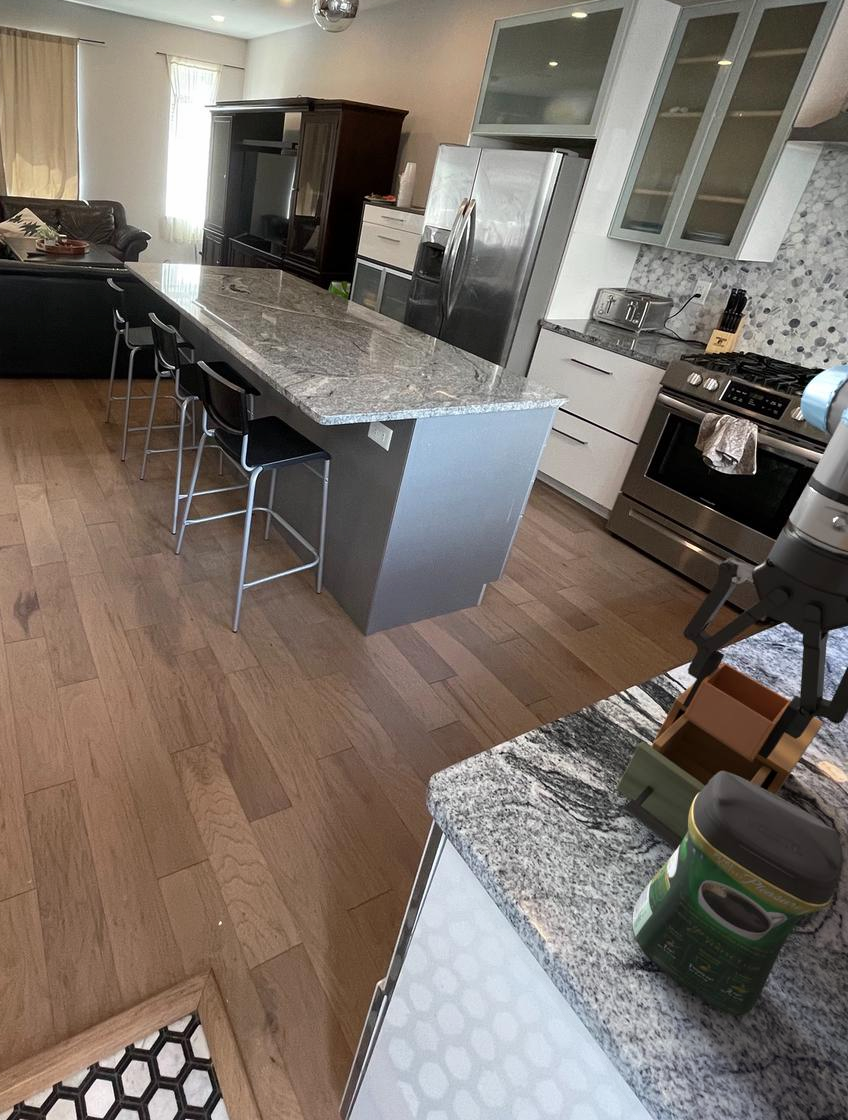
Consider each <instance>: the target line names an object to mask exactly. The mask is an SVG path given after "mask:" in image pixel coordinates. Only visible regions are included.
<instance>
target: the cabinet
mask: <svg viewBox="0 0 848 1120" xmlns="http://www.w3.org/2000/svg"><path fill="white" fill-rule="evenodd" d="M721 664H722V662H720V664H719V666H720V665H721ZM719 666H718V667H719ZM694 683H695V681H694V682H693V683H692V684H691V685H690V686H689V687H688V688H687V689H686V690H684V691H683V692H682V693H681V694H679V696H678V697H677V698H676V699H675V700H674V702H673V704H672V705H671V708H670V710H669V711H668V714H667V715H666V717H665V719H664V721H663V723H662V725H661V727H660V729H659V731H658V732H657V735H656V736H655V739H654V741H652V744H651V746H650V747H652V745H653V743H654V742H655V741H656V740H657V739H658V738H659V737H660V736H661V735H662V734H663V733H664V732H665V731H666V730H667V729H668V728H669V727H670V726H671V725H672V724H673V723H675V722H676V721H677V720H678V719H679V718H680V717H681V716H682V715H683V714H684V713H685V712H686V711H687V709H688V708H687V707H685V706H683V703H684V702H685V700H686V698H687V696H688V694H689V692H690V690H691V689H692V687H693V685H694ZM823 725H824V722H823V721H822V720H820V719H818V718H816V717H813V718H812V720H811V721H810V723H809V724H808V726H807V728H806V729H805V731H804V732H803V733H802V735H801V736H800V737H798V738H796V739H795V738H793V737H791V736H790V735H788V734H787V733H784V734H783V736H782V738H781V739H780V741H779V742H778V744H777V745H776V747H775V749H774V750H773V751H772V753H771V754H770V755H769V756H768V758H767V759H765V758H764V757H762V756H760V755H759V754H758V755H757V756H756V757H755V758H757V759H758V760H760V761H761V762H763V763H764V764H766V765H768V766H769V767H771V768H772V769H773V770H772V771H771V773H770V774H769V776H768V778H767V779H766V781H765V782H764V784H763V785H762V787H761V788H763V789H765V790H767V791H769V792H771V793H773V794H775V795H776V796H778V795H777V794H778V793H779V792H780V790H781V789H782V787H783V786H784V784H785V783H786V781H787V780H788V778H789V777H790V775H791V774H792V772H793V771H794V769H795V768H796V766H797V765H798V764H799V762H800V760H801V759H802V757H803V756H804V754H805V752H806V751H807V749H808V748H809V746H810V745H811V743H812V742H813V740H814V739H815V737H816V736H817V734H818V733H819V731H820V730H821V728H822V726H823Z"/></svg>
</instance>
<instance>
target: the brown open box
mask: <svg viewBox="0 0 848 1120" xmlns="http://www.w3.org/2000/svg"><path fill="white" fill-rule="evenodd" d="M791 701H792V700H789V699H788V698H786V697H784V696H783V695H781V694H779V693H777V692H776V691H774V690H773V689H771V688H769V687H767V686H766V685H764V684H762V683H760V682H758V681H757V680H755V679H753V678H752V677H750V676H748V675H746V674H745V673H743V672H742V671H740V670H737V669H736V668H735V667H733V666H732V665H729V664H727V663H726V662H724V661H723V662H721V665H720V666H719V667H718V668H716V669H715V670H714V671H713V672H712V673H711V674H710V675H709V676H708V677H706V678H705V679H704V680H703V681H702V683H701V685H700V687H699V688H698V690H697V692H696V694H695V696H694V698H693V700H692V701H691V703H690V705H689V707H688V709H687V711H686V712H685V714H684V716H683V717H685V718H686V719H688V720H689V721H691V722H692V723H694V724H695V725H697V726H698V727H700V728H701V729H703V730H704V731H706V732H707V733H709V734H710V735H712V736H713V737H715V738H716V739H718V740H719V741H721V742H722V743H724V744H725V745H727V746H728V747H730V748H731V749H733V750H734V751H736V752H737V753H739V754H740V755H742V756H743V757H745V758H746V759H748V760H749V761H751V762H752V761H753V760H754V758H755V757H756V756H757V755H758V753H759V751H760V750H761V748H762V747H763V745H764V743H765V742H766V740H767V739H768V737H769V735H770V734H771V732H772V731H773V729H774V727H775V726H776V724H777V723H778V721H779V719H780V717H781V716H782V714H783V712H784V711H785V709H786V708H787V706H788V705H789V703H790V702H791Z"/></svg>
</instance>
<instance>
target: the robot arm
mask: <svg viewBox="0 0 848 1120" xmlns="http://www.w3.org/2000/svg"><path fill="white" fill-rule="evenodd" d="M800 411H801V415H802V417H803V418H804V419H805V421H806V422H808V423H809V424H810V425H811V426H813V427H815V428H817V429H819V430H821V431H822V432H824V433H826V435H828V436H829V437H830V441H828V442H829V443H828V444H827V445H826V448H825V450H824V452H823V454H822V456H821V458H820V460H819V462H818V464H817V466H816V468H815V470H814V472H813V473H812V475H811V476H810V479H809V481H807V484H806V486H804V489H803V491H802V493H801V495H800V497H799V499H798V500H797V501H796V504H795V505H794V507H793V509H792V511H791V513H790V515H789V516H788V518H789V521H790V524H788V525H784V526H783V527H782V530H781V532H780V533H779V535H778V537H777V538H776V540H775V543H774V544H773V546H772V547H771V549H770V552H769V553H768V555H767V557H766V558H765V560H764V561H763V562H761V563H759V564H758V565H753V564H749V563H744V562H742V561H741V560H740V558H738V557H737V556H731V557H729V558H727V559H726V560H724V561H723V562H721V563H720V564H719V566H718V573H717V580H716V583H715V584H714V586H713V587H712V589H711V590H710V591H709V593H708V594H707V596H706V598H705V599H704V600H703V602H702V603H701V605H700V606H699V608H698V609H697V611H696V612H695V614H694V615H693V617H692V618H691V620H690V621H689V623H687V626H686V627H685V628H684V630H683V632H682V634H683V636H684V638H686V640H688V641H691V642H692V643H694V645H695V646H696V653H695V654H694V657H693V659H692V661H691V663H690V664H689V666H688V668H687V674H688V675H690V676H691V677H693V678H695V680H694V682H695V683H694V682H693V683H694V685H693V687H692V689H691V690H690V692H689V694H688V696H687V698H686V700H685V702H684V703H683V706H685V707H687V708H688V707H689V705H690V703H691V701H692V700H693V698H694V696H695V694H696V692H697V690H698V688H699V687H700V685H701V683H702V681H703V680H704V679H705V678H706V677H708V676H709V675H710V674H711V673H712V672H713V671H714V670H715V669H716V668H718V666H719V664H720V663H722V660H723V659H724V657H725V653H722V652H721V651H719V649H720V648H721V647H723V646H725V645H726V644H727V643H729V642H730V641H732V640H733V639H734V638H736V637H737V636H739V635H740V634H741V633H743V632H744V631H745V630H747V629H748V628H750V627H751V626H752V625H754V624H755V623H757V622H759V621H760V620H762V619H763V618H764V617H766V616H767V617H769V618H771V619H773V620H775V621H778V622H781V623H784V624H786V625H788V626H789V627H790V628H791V629H793V630H794V631H796V632H798V633H800V634H802V647H803V649H802V663H801V678H800V679H801V681H800V692H799V693H800V694H799V696H798V695H795V696H794V697H793V698H792V700H790V701H791V702H790V703H789V705H788V706H787V708H786V709H785V711H784V712H783V714H782V716H781V717H780V719H779V721H778V723H777V724H776V726H775V727H774V729H773V731H772V732H771V734H770V735H769V737H768V739H767V740H766V742H765V743H764V745H763V747H762V748H761V750H760V751H759V753H758V754H759V755H760V756H762V757H764V758H765V759H767V758H768V756H769V755H770V754H771V753H772V751H773V750H774V749H775V747H776V745H777V744H778V742H779V741H780V739H781V738H782V736H783V734H784V733H787V734H788V735H790V736H791V737H793V738H795V739H796V738H798V737H800V736H801V735H802V733H803V732H804V731H805V729H806V728H807V726H808V724H809V723H810V721H811V720H812V718H813V717H814V718H816V717H821V718H825V719H827V720H828V721H829V722H831V723H833V724H841V723H842V722H843V720H844V719H845V718H846V716H847V714H848V665H847V666H846V667H845V671H844V673H843V675H842V677H841V679H840V681H839V684H838V685H837V688H836V690H835V692H834V693H833V696H832V699H831V700H829V699H827V698H824V688H825V687H824V685H825V671H826V658H827V644H828V640H829V636H830V635H829V633H830V631H835V630H839V629H843V628H846V627H848V364H842V365H836V366H832V367H830V368H828V369H825V370H823V371H821V372H820V373H818V374H817V375H815V377H814V378H813V379H811V381H810V382H809V383H808V384H807V385H806V387H805V388H804V390H803V393H802V396H801V398H800ZM748 578H751V579H752V581H753V585H754V589H755V591H756V595H757V598H758V601H757V602H755V603H754V604H753V605H752V606H750V607H749V608H748V609H746V610H745V611H744V612H742V613H741V614H739V615H738V616H737V617H735V618H733V620H730V621H729V622H727V624H726V625H725V626H723V627H721V628H720V629H719V630H718V631H716V632H715V633H714V634H712V635H710V634H709V633H708V632H707V631H706V630H707V628H708V626H709V625H710V624H711V623H712V621H713V619H715V616H716V615H717V614H718V612H719V611H720V609H721V608H722V607H723V605H724V604H725V602H726V601H727V599H728V598H729V596H730V595H731V594H732V592H733V590H734V589H735V588H736V586H737V585H740V584H743V583H745V581H747V579H748Z"/></svg>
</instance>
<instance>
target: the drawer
mask: <svg viewBox="0 0 848 1120" xmlns="http://www.w3.org/2000/svg"><path fill="white" fill-rule="evenodd" d="M684 714H685V713H684ZM684 714H683V715H682V716H681V717H680V718H679V719H678V720H677V721H676V722H675V723H673V724H672V725H671V726H670V727H669V728H668V729H667V730H666V731H665V732H664V733H663V734H662V735H661V736H660V737H659V738H658V739H657V740H656V741H655V742H654V741H653V742H654V743H653V742H652V744H653V745H652V744H651V746H652V747H651V746H650V744H648V743H646V742H645V741H641V742H640V743H639V744H638V745H637V747H636V749H635V751H634V753H633V755H632V756H631V758H630V761H629V763H628V765H627V767H626V769H625V770H624V773H623V774H622V776H621V778H620V781H619V782H618V784H617V786H616V790H617V791H618V792H619V793H620V794H622V795H623V796H624V797H625V798H627V799H628V801H627V803H626V804H625V806H624V809H623V810H624V811H625V812H627V813H628V814H629V815H630V816H631V817H633V818H634V819H635V820H637V821H638V822H639V823H640V824H641V825H643V826H644V827H645V828H646V829H648V830H649V831H651V833H652V834H654V835H655V836H657V837H658V838H659V839H660V840H662V841H663V842H664V843H665V844H666V845H668V846H669V847H670V848H671V849H673V850H674V852H675V851H676V850H677V848H678V847H679V845H680V844H681V842H682V840H683V839H684V837H685V835H686V834H687V832H688V817H689V811H690V808H691V805H692V802H693V800H694V799H695V797H696V795H697V794H698V793H699V792H701V790H702V789H703V788H704V787H705V786H706V785H707V784H708V782H709V780H710V779H711V778H712V777H713V776H714V775H716V774H717V773H718V772H720V771H726V772H728V773H732V774H734V775H737V776H739V777H742V778H744V779H746V780H748V781H750V782H751V783H753V784H755V785H757V786H759V787H762V785H763V784H764V782H765V781H766V779H767V778H768V776H769V774H770V773H771V771H772V770H773V769H772V768H771V767H769V766H768V765H766V764H764V763H763V762H761V761H760V760H758V759H757V758H754V760H753V761H752V762H751V761H749V760H748V759H746V758H745V757H743V756H742V755H740V754H739V753H737V752H736V751H734V750H733V749H731V748H730V747H728V746H727V745H725V744H724V743H722V742H721V741H719V740H718V739H716V738H715V737H713V736H712V735H710V734H709V733H707V732H706V731H704V730H703V729H701V728H700V727H698V726H697V725H695V724H694V723H692V722H691V721H689V720H688V719H686V718H685V717H683V716H684Z"/></svg>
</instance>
